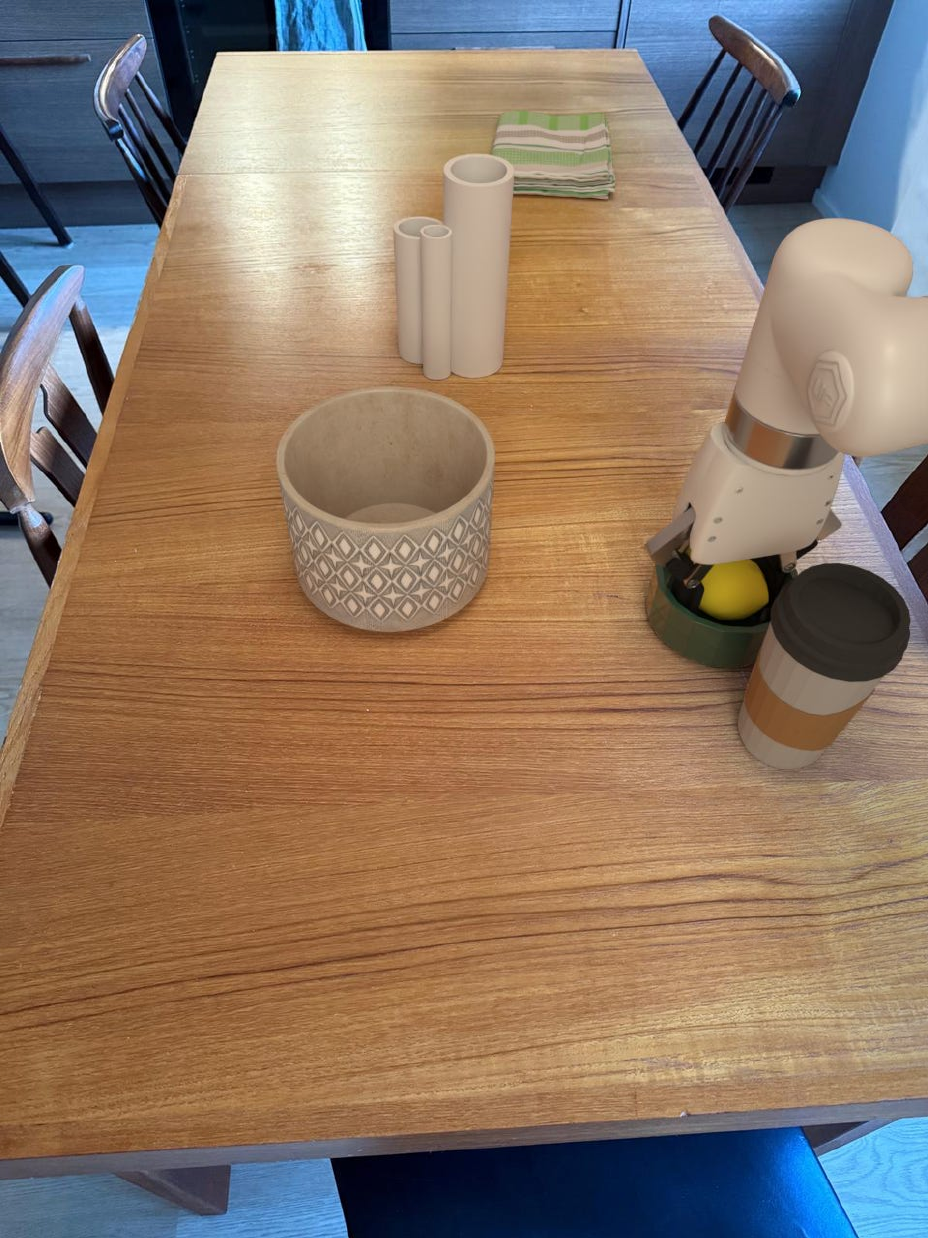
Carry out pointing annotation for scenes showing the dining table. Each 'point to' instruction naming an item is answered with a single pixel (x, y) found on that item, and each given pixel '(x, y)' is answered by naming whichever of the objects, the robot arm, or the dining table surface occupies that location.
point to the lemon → (734, 590)
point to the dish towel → (557, 153)
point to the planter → (388, 506)
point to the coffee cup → (820, 661)
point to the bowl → (706, 626)
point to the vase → (457, 272)
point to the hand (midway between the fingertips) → (720, 600)
